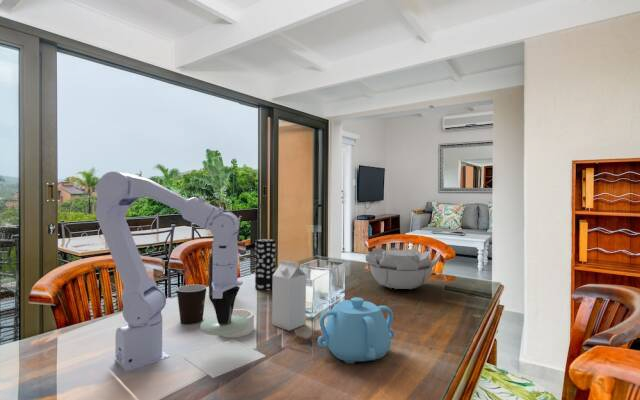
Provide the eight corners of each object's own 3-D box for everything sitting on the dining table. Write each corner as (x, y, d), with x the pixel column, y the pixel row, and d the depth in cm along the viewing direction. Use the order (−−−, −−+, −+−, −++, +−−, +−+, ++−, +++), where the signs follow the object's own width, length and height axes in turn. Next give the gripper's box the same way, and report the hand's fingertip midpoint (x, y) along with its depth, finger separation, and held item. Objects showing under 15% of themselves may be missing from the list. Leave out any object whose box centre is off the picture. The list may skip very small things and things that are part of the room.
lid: (216, 339, 76) (216, 319, 76) (191, 326, 83) (191, 307, 83) (257, 325, 84) (257, 307, 84) (231, 315, 91) (231, 298, 91)
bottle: (222, 298, 132) (222, 244, 132) (205, 297, 133) (205, 244, 133) (229, 293, 139) (230, 242, 138) (213, 292, 140) (214, 241, 140)
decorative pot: (370, 378, 75) (371, 314, 75) (310, 356, 85) (311, 300, 84) (400, 351, 88) (401, 297, 88) (346, 335, 98) (346, 286, 98)
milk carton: (288, 319, 110) (289, 258, 110) (305, 324, 106) (306, 261, 105) (271, 325, 105) (272, 261, 104) (289, 331, 100) (289, 264, 100)
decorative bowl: (351, 281, 159) (352, 248, 159) (409, 277, 168) (409, 246, 168) (383, 300, 130) (383, 260, 130) (451, 294, 139) (451, 256, 139)
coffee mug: (196, 326, 103) (196, 292, 103) (170, 324, 105) (170, 290, 105) (216, 313, 115) (216, 283, 114) (192, 311, 116) (192, 281, 116)
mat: (213, 380, 74) (213, 377, 74) (182, 358, 83) (182, 356, 83) (266, 357, 84) (266, 355, 84) (233, 341, 93) (233, 339, 93)
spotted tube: (252, 286, 148) (253, 239, 148) (271, 284, 152) (272, 238, 152) (258, 291, 141) (258, 241, 141) (278, 289, 144) (278, 240, 144)
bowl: (229, 342, 93) (230, 323, 93) (210, 332, 99) (210, 314, 99) (260, 332, 100) (260, 314, 100) (240, 323, 107) (240, 306, 107)
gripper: (235, 269, 76) (235, 332, 77) (247, 257, 91) (247, 310, 91) (202, 269, 76) (202, 332, 76) (219, 257, 91) (219, 310, 91)
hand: (224, 320), depth 84 cm, fingers closed on lid, 3 cm apart
